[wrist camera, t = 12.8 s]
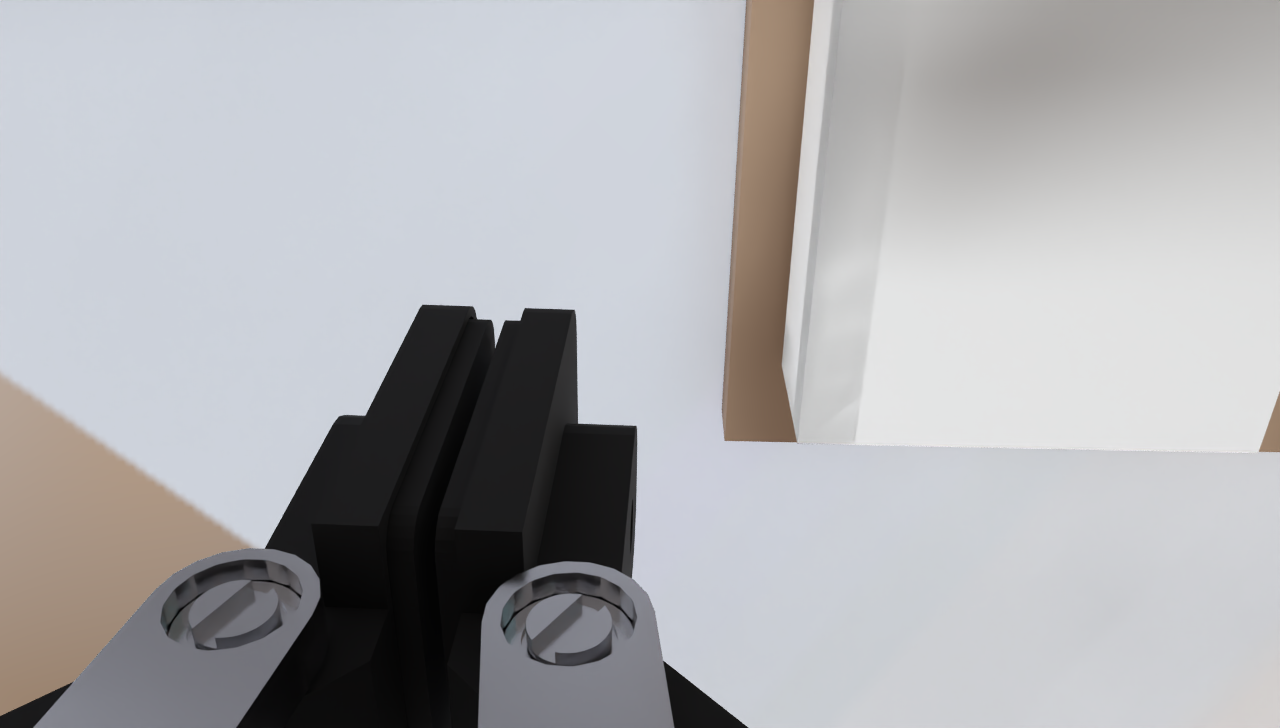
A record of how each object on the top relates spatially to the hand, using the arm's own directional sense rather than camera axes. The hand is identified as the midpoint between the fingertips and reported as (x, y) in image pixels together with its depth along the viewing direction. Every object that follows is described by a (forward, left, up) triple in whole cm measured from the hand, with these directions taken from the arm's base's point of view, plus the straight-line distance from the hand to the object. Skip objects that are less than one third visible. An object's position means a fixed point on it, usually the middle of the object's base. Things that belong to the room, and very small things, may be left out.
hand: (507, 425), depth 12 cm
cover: (+8, 0, -8) cm, 12 cm away
